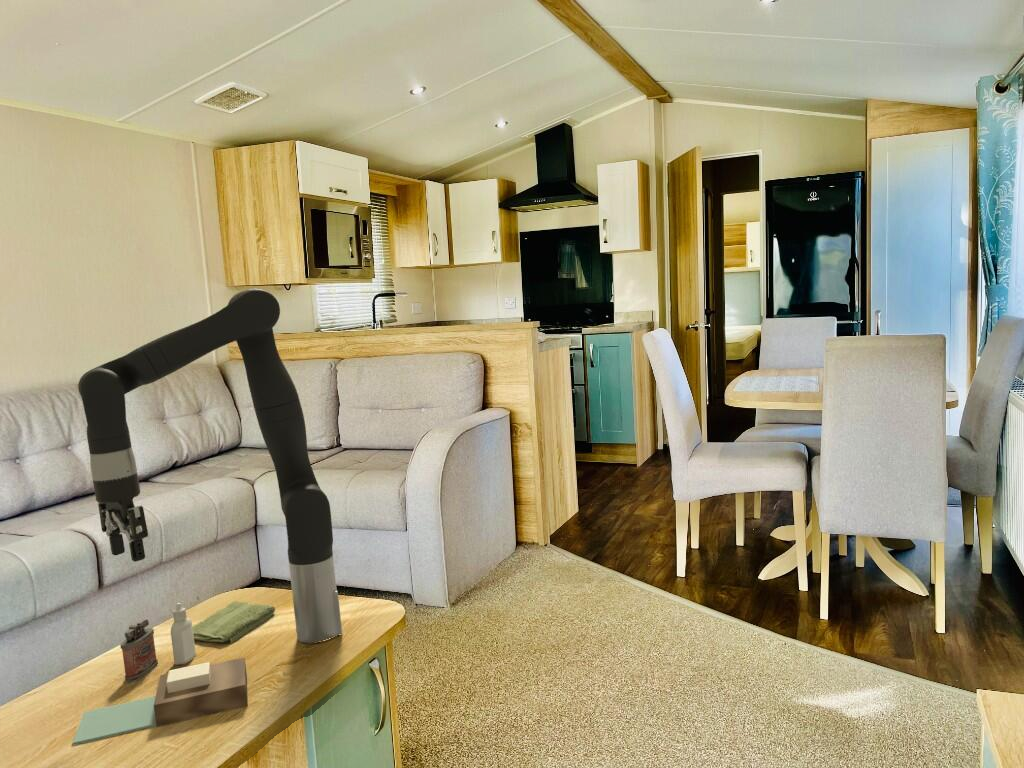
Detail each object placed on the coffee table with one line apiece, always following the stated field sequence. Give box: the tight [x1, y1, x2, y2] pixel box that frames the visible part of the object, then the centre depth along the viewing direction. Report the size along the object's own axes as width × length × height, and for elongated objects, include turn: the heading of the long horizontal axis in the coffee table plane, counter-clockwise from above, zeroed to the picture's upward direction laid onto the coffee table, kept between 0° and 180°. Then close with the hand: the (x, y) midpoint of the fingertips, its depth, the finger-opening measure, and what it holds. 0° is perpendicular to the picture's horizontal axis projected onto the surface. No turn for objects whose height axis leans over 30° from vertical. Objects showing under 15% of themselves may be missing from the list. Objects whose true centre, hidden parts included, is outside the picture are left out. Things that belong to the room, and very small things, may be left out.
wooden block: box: [154, 657, 249, 728], centre depth 140 cm, size 15×12×4 cm
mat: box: [71, 695, 156, 746], centre depth 136 cm, size 13×11×1 cm
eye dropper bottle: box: [170, 602, 197, 666], centre depth 158 cm, size 4×6×12 cm
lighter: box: [119, 618, 159, 683], centre depth 154 cm, size 8×3×10 cm, turn 168°
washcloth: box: [192, 600, 276, 644], centre depth 174 cm, size 13×18×3 cm
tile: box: [167, 661, 211, 693], centre depth 139 cm, size 7×5×2 cm
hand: (128, 557), depth 145 cm, fingers open, 8 cm apart
